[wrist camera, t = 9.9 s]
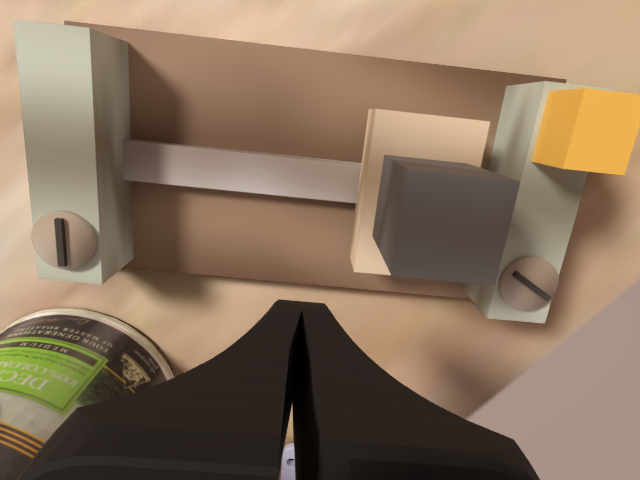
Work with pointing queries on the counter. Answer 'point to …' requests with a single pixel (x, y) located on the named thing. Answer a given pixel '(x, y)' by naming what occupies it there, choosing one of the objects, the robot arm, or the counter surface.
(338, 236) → the rail board
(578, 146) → the button
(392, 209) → the carriage
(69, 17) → the counter surface
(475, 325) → the counter surface
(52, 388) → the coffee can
